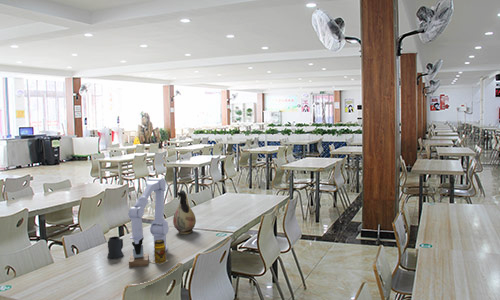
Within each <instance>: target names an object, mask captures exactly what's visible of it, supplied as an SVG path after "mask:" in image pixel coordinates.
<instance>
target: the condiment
mask: <svg viewBox="0 0 500 300" xmlns="http://www.w3.org/2000/svg"><path fill="white" fill-rule="evenodd" d="M154 243H155V246H154V245H153V251H154V252H153V253H154V259H153V260H151V261H150V263H152V264H156V265H163V264H165V263H167V262H168V261H169V260H170V259H167V254H166V252H167V251H165V245H164V240H156V241H155V242H154V241H153V244H154Z"/></svg>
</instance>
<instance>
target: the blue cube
mask: <svg viewBox="0 0 500 300" xmlns="http://www.w3.org/2000/svg"><path fill="white" fill-rule="evenodd" d="M143 254H144V244H142V246H141V253H140V254H139V255H136V252H135V249H134V246H133V247H132V255H133V257H134V258H136V257H143Z"/></svg>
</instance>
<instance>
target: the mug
mask: <svg viewBox="0 0 500 300" xmlns="http://www.w3.org/2000/svg"><path fill="white" fill-rule="evenodd" d="M123 240H124V239H123V238H120V236H110V237H109V238H108V240H107V250H108V252H107V256H106V258H107V259H108V260H118V259H122V258H123V257H124V252H123V251H122V250H123V248H124V241H123Z"/></svg>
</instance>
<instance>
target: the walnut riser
mask: <svg viewBox="0 0 500 300" xmlns="http://www.w3.org/2000/svg"><path fill="white" fill-rule="evenodd" d="M149 255H150V254H149V253H145V254H143V257H136V258H134V257H133V254H132V255H130V256H129V260H128V268H134V267H145V266H149V263H150V256H149Z"/></svg>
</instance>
